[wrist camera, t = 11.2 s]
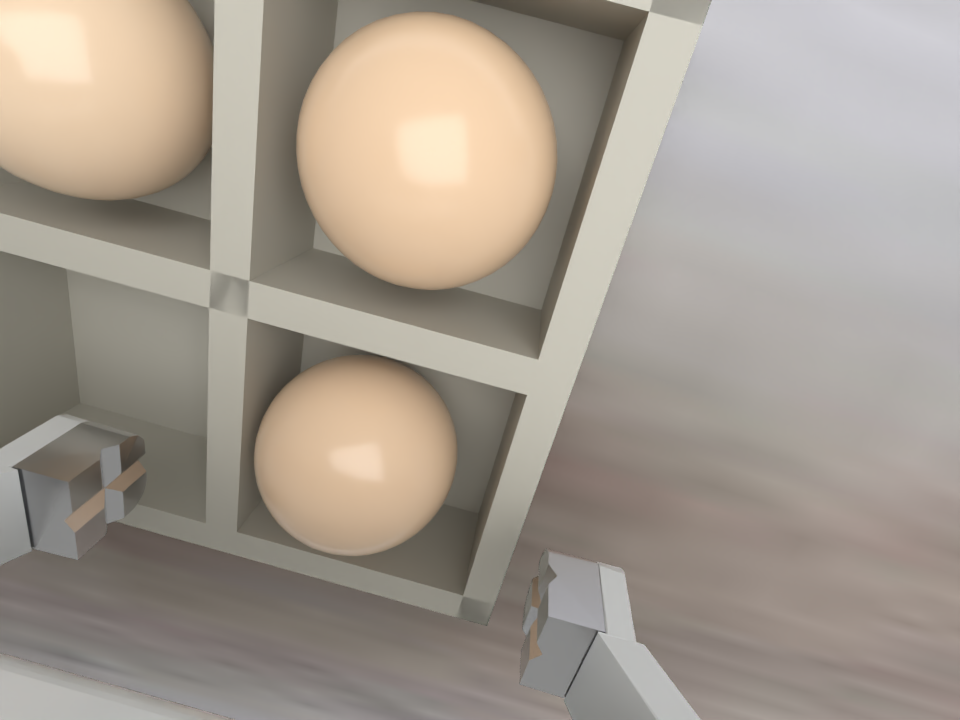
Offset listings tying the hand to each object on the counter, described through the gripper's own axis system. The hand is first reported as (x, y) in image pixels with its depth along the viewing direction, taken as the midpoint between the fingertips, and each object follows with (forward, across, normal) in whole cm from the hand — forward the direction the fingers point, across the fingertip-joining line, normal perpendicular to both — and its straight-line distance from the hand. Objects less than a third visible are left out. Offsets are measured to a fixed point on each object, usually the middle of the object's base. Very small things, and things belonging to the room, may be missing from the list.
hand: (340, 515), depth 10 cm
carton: (+5, +3, -3) cm, 7 cm away
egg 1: (+4, +7, -7) cm, 10 cm away
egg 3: (+4, 0, 0) cm, 5 cm away
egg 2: (+4, 0, -7) cm, 8 cm away
